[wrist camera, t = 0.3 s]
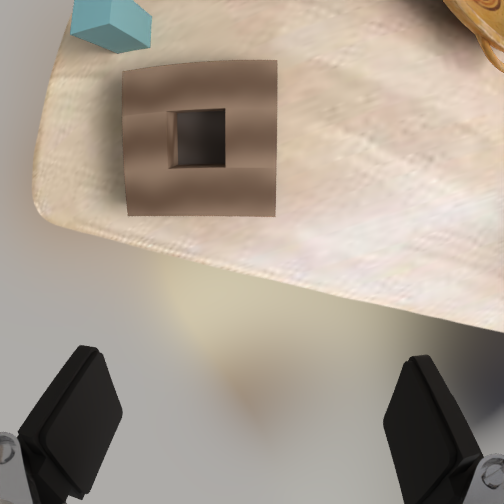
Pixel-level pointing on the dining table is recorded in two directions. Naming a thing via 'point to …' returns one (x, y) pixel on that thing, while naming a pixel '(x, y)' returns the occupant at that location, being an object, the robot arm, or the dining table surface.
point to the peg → (112, 24)
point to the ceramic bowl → (483, 23)
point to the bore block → (201, 139)
